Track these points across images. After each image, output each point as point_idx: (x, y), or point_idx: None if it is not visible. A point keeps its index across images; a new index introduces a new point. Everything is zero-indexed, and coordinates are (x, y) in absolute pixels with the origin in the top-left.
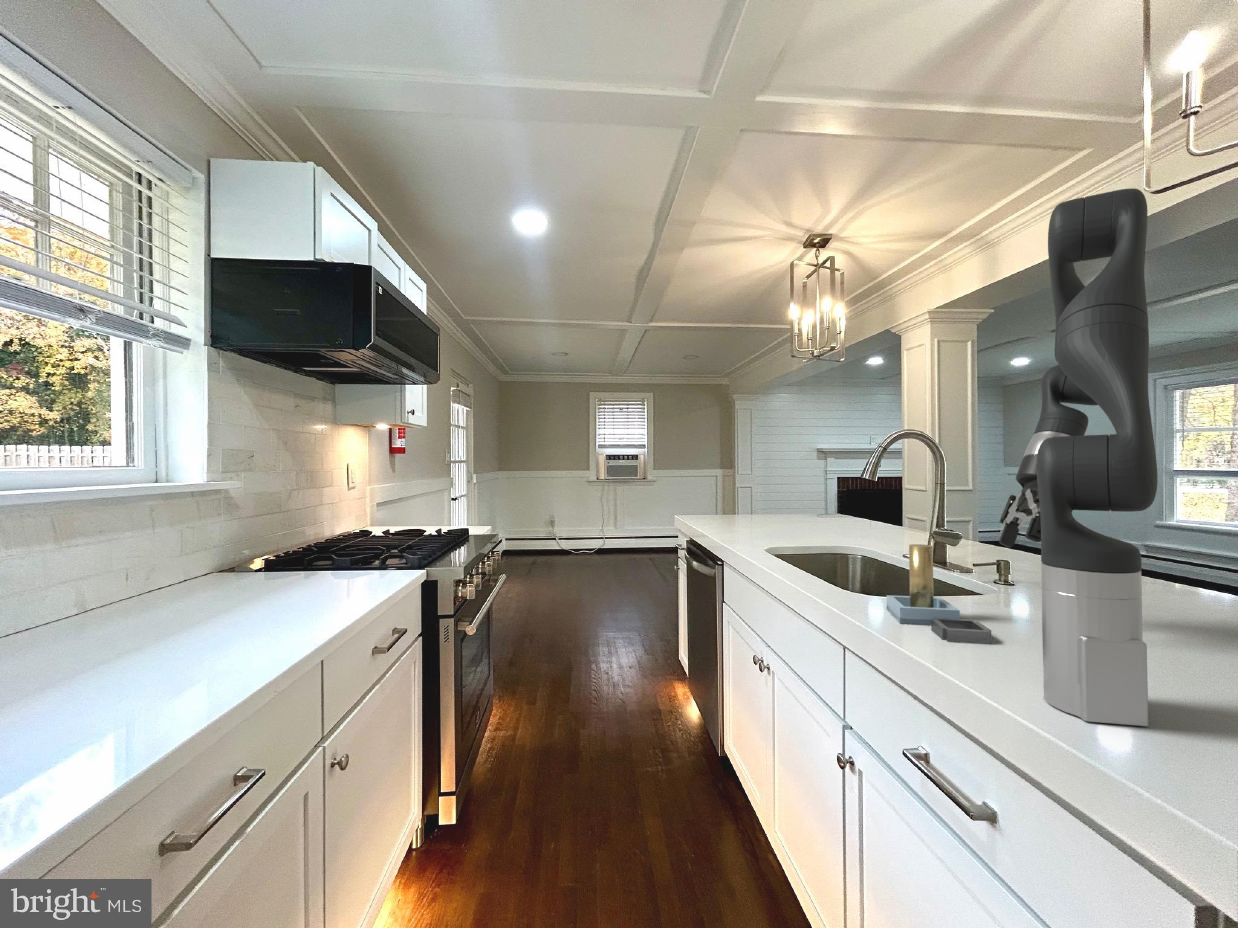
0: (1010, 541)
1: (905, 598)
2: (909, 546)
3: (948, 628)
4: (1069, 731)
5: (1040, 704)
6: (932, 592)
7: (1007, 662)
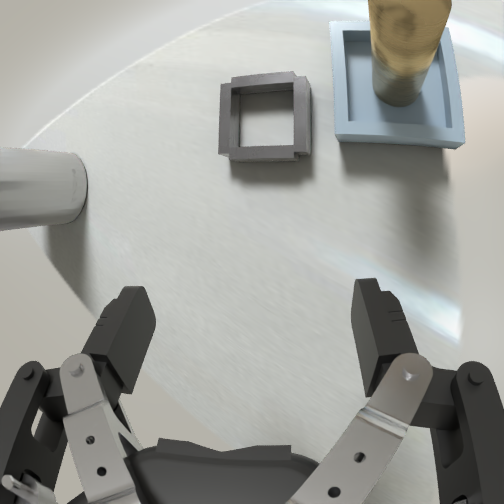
0: (356, 322)
1: (443, 61)
2: None
3: (229, 87)
4: None
5: (67, 146)
6: (384, 82)
7: (156, 153)
